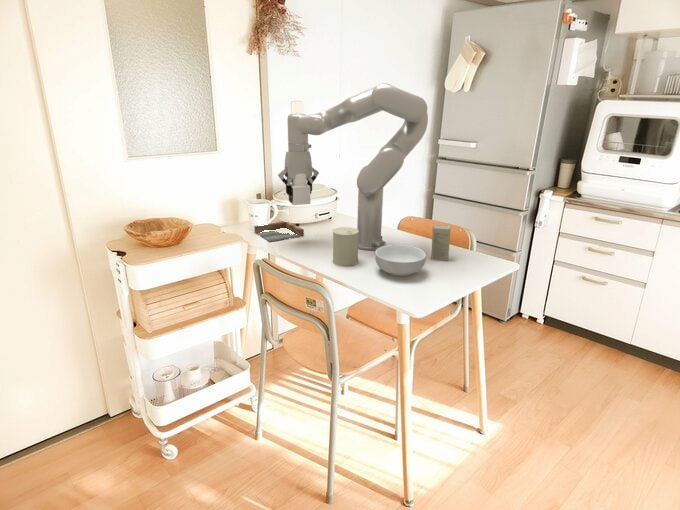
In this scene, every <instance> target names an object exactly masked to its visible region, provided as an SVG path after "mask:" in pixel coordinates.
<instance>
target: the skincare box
mask: <svg viewBox="0 0 680 510" xmlns="http://www.w3.org/2000/svg"><path fill="white" fill-rule="evenodd" d="M451 228H452V227H451V225H443V224H442V225H438V224H433V226H432V237H431V252H430V253H431V254H430V256H431V257H430V260H433V261H445V262H448V261H449V256H450V255H449V254H450V240H451Z"/></svg>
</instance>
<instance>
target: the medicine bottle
mask: <svg viewBox="0 0 680 510" xmlns="http://www.w3.org/2000/svg"><path fill="white" fill-rule="evenodd" d="M307 182H308V181H307V178H306V174H297V175H296V178H295V179H293V180H292V182H291V183H290V185H291V191H292V195H291V196H289V195H288V202H289V203H290V204H291V205H293V206H298V205H299V206H300V205H310V204H311V194H310V186H309V185H308V184H307Z"/></svg>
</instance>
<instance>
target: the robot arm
mask: <svg viewBox="0 0 680 510" xmlns="http://www.w3.org/2000/svg"><path fill="white" fill-rule="evenodd" d="M380 112H385V113H388V114H389V115H393V116H395V117H397V118H400V119H403V120H404V122H403V124H402V125H401V127H400V128H399V129H398V130H397V132H396V133H395V134H394V135H393V136H392V137H391V138H390V139H389V140H388V141H387V143H386V144H384V146H382V147H381V148H380V149H379V151H378V153H376V155H375V156H374V157H373V158H372V160H371V161H370V162H369V163H368V164H367V165H365V166H363V167H362V168H361V170H360V171H359V173H358V175H357V177H356V186H357V189H358V194H357V195H358V196H357V228H356V229H357V230H358V231H359V234H358V250H359V249H360V250H366V251H374V250H375V251H376V250H377V249H378V248H380V247H383V246H386V241H384V240H383V235H382V226H383V225H382V223H383V204H384V202H383V200H384V187H385V186H387V184H388V183H389V182H390V181H391V180H392V179H393V178H394V177H395V176H396V175H397V174H398V172H399V171H400V170H401V169H402V167H403V165H404V162H405V159H406V158H407V156H409V155H410V153H411V152H412V151H413V150H414V148H416V146H417V145H418V144H419V143H420V142H421V140H422V139H423V137H424V136H425V133H426V132H427V128H428V122H429V114H428V104H427V101H425V99H424V98H422V97H420V96H419V95H416V94H413V93H410V92H408V91H406V90H403V89H400V88H398V87H396V86H395V85H392V84H390V83H386V82H382V83H379V84H378V85H376V86H374V87H371V88H369V89H366V90H365V91H363V92H359V93H357V94H355V95H352V96H350V97H348V98H346V99H344V100H343V101H342V102H340V103H339V104H336V105H334V106H332V107H330V108H328V109H325V110H323V111H320V112H317V113H314V114H313V113H311V114H304V113H290V114H288V115H287V143H288V144H287V146H288V147H287V149H288V151H286V153H285V158H284V169H283V170H282V171H281V172H280V173H278V174H277V175H278V178H279V179H280V181H281V182H283V184H284V185H285V192H286V194H287V196H288V197H289V196H291V195H292V191H291V185H290V184H291V182H292V180H293V179H295V178H296V175H297V174H306V178H307V183H306V184H308V185H309V186H310V195H312V191H313V183H314V182H315V180H316V179H317V177H318V175H320V172H319V171H318V170H317V169H315V168H314V167H313V163H312V162H313V161H312V156H311V152H310V151H309V150H310V149H311V148H312V144H310V143H309V135H312V136H321V135H323V134H325V133H327V132H329V131H332V130H335V129H336V128H339V127H341V126H344V125H347V124H350V123H351V124H352V123H356V122H358V121H360V120H362V119H366V118H367V117H370V116H373V115H375V114H377V113H380ZM285 177H286V178H285Z"/></svg>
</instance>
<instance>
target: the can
mask: <svg viewBox="0 0 680 510" xmlns="http://www.w3.org/2000/svg"><path fill="white" fill-rule="evenodd" d="M332 233H333V234H332V237H333V238H332V240H333V243H332V246H333V247H332V249H333V251H332V252H333V253H332V262H333V264H334V263H335V265H337V266H340V265H341V266H342V267H350V266H354V265H357V264H358V263H359V248H358V234H359V231H358V230H357V228H355V227H349V226H348V227H347V226H345V227H344V226H341V227H337V228H335V229H333V230H332Z"/></svg>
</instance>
